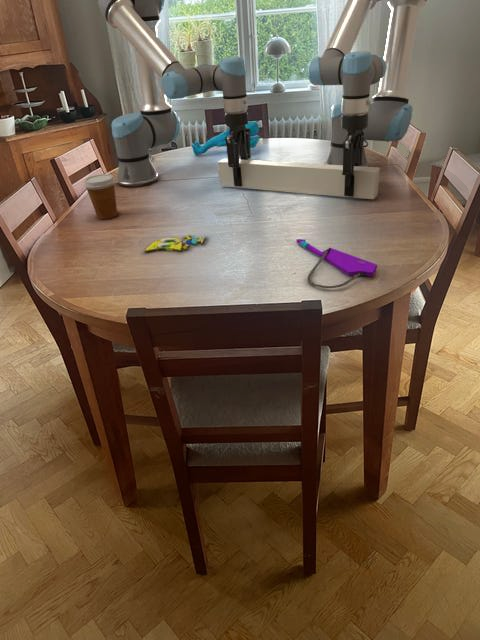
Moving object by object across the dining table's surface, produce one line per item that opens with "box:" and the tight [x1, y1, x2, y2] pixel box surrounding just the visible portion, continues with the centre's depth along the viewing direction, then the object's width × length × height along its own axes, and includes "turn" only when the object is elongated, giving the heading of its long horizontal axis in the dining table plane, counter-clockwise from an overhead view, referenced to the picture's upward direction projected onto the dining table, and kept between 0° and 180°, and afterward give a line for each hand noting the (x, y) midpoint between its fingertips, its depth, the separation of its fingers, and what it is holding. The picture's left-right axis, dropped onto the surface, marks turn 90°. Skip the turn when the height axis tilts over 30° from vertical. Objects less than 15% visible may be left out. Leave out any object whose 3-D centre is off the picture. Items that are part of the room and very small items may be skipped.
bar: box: [217, 158, 380, 200], centre depth 157 cm, size 54×4×8 cm, turn 62°
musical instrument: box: [295, 238, 378, 289], centre depth 112 cm, size 24×2×20 cm
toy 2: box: [191, 120, 261, 156], centre depth 207 cm, size 17×11×30 cm
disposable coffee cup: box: [83, 173, 118, 220], centre depth 151 cm, size 10×10×12 cm
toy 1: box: [144, 234, 207, 254], centre depth 130 cm, size 10×1×15 cm
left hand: (241, 183), depth 167 cm, fingers closed on bar, 4 cm apart
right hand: (351, 192), depth 150 cm, fingers closed on bar, 4 cm apart
